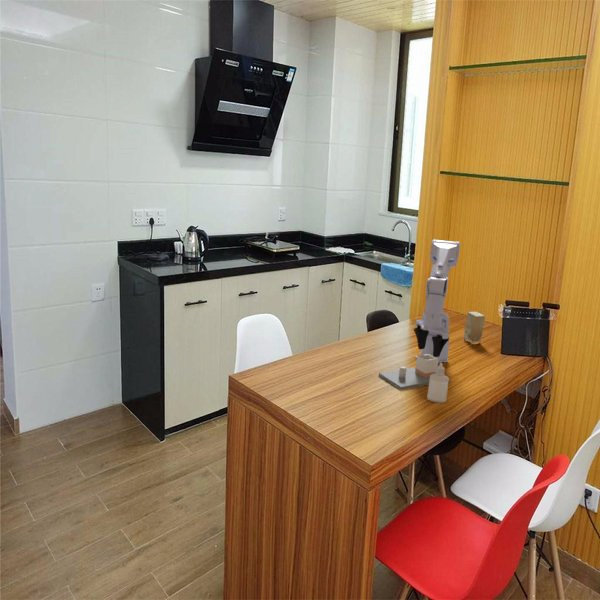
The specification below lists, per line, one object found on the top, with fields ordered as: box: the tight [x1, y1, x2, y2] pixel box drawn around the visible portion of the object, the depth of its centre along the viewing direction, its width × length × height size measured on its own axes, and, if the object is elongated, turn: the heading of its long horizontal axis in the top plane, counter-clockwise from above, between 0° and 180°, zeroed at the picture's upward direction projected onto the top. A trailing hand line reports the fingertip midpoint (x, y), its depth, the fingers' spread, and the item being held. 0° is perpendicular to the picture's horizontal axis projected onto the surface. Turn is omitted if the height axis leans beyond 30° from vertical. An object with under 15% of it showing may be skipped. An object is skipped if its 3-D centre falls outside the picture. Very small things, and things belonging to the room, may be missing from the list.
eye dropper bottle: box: [426, 363, 450, 404], centre depth 163 cm, size 4×6×12 cm
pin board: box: [378, 366, 450, 391], centre depth 179 cm, size 20×12×4 cm, turn 117°
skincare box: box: [463, 311, 486, 343], centre depth 219 cm, size 6×4×12 cm
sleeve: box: [415, 354, 439, 378], centre depth 181 cm, size 5×5×6 cm
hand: (428, 352), depth 180 cm, fingers open, 7 cm apart
